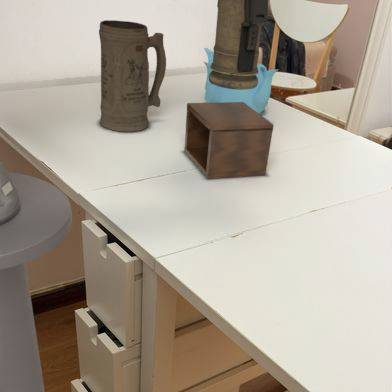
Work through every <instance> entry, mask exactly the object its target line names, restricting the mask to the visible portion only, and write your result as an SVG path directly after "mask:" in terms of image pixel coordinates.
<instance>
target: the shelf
mask: <svg viewBox="0 0 392 392" xmlns="http://www.w3.org/2000/svg"><path fill="white" fill-rule="evenodd" d="M274 127H275V126H274V123H272V122H271V121H269V120H268V119H267V118H266V117H264V116H263V115H261V113H260V114H259V113H257V112H256V111H255V110H253V109H252V108H251V107H249V106H248V105H247V104H245V103H244V102H220V103H206V102H187V103H186V121H185V134H184V135H185V137H184V154H185V155H186V156H187V157H188V159H190V160H191V162H193V164H194V165H195V166H196V167H197V169H199V171H200V172H201V173H202V174H203V175H204V176H205V178H206V179H207V180H213V179H226V178H243V177H245V178H246V177H259V176H260V177H261V176H266V173H267V167H268V162H269V156H270V155H269V154H270V150H271V143H272V138H273V132H274V131H273V130H274Z"/></svg>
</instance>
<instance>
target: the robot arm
mask: <svg viewBox="0 0 392 392" xmlns="http://www.w3.org/2000/svg"><path fill="white" fill-rule="evenodd" d="M218 3H219V0H217V5H216V6H217V8H218ZM268 9H269V0H244V13H245V21H244V22H242V23H241V27H242V28H241V37H240V46H239V55H238V63H237V70H238V71H253V65H254V58H255V50H256V43H257V35H258V28H259V27H261V25H262V26H265V25H267V22H268ZM261 28H262V27H261ZM7 172H8V171H7V169H6V167H5V165H4V163H3V161H2V159H1V158H0V225H3V224H5V223H7V222H8V221H10V220H12V219H13V218H14V217H15V216H16V215H17V214H18V212H19V210H20V203H19V197H18V194H17V191H16V189H15V187H14V185H13V183H12V181H11V179H10V177H9V175H8V173H7Z"/></svg>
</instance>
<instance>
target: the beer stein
mask: <svg viewBox="0 0 392 392" xmlns="http://www.w3.org/2000/svg"><path fill="white" fill-rule="evenodd" d="M98 35H99V42H100V93H101V94H100V106H99V107H100V118H99V122H100V126H102V127H104V128H105V129H108V130H111V131H115V132H124V133H130V132H131V133H132V132H140V131H142V130H145V129H147V128H148V126H149V120H148V112H149V107H151V106H153V107H157V108H159V107H161V98H160V96H159V95H160V89H161V87H162V84H163V81H164V79H165V75H166V70H167V57H166V50H165V46H164V33H161V32H154V34H153V35H151V36H149V30H148V26H147V25H146V24H143V23H139V22H136V21H135V22H134V21H127V20H126V21H125V20H115V19H114V20H109V19H108V20H102V21H100V23H99V29H98ZM150 48H153V49H154V51H155V55H156V67H155V74H154V78H153V83H152V86H151V90H150V87H149V85H150V83H149V82H150V70H149V69H150V63H149V58H148V57H149V56H148V54H149V53H148V50H149V49H150ZM149 90H150V91H149ZM149 92H150V93H149Z"/></svg>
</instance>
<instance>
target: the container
mask: <svg viewBox="0 0 392 392" xmlns="http://www.w3.org/2000/svg"><path fill="white" fill-rule="evenodd" d="M217 4H218V7H217V14H216V15H217V16H216V25H215V27H216V28H215V40H214V45H213V49H212V51H213V53H214V54H213V63H212V65H211V66H210V68H211V69H212V70H213V71H212V72H210V74H209V81H210V83H212V84H213V85H216V86H219V87H223V88H228V89H237V90H247V89H253V88H255V87H256V86H257V84H258V78H257V76H256V74H258V73H259V71H258V68H257V64H259V56H260V43H261V34H262V26H263V25H261V27H259V28H258V35H257V43H256V50H255V58H254V65H253V71H238V70H237V63H238V55H239V46H240V37H241V28H242V27H241V23H242V22H244V21H245V13H244V0H219V3H218V2H217Z"/></svg>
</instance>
